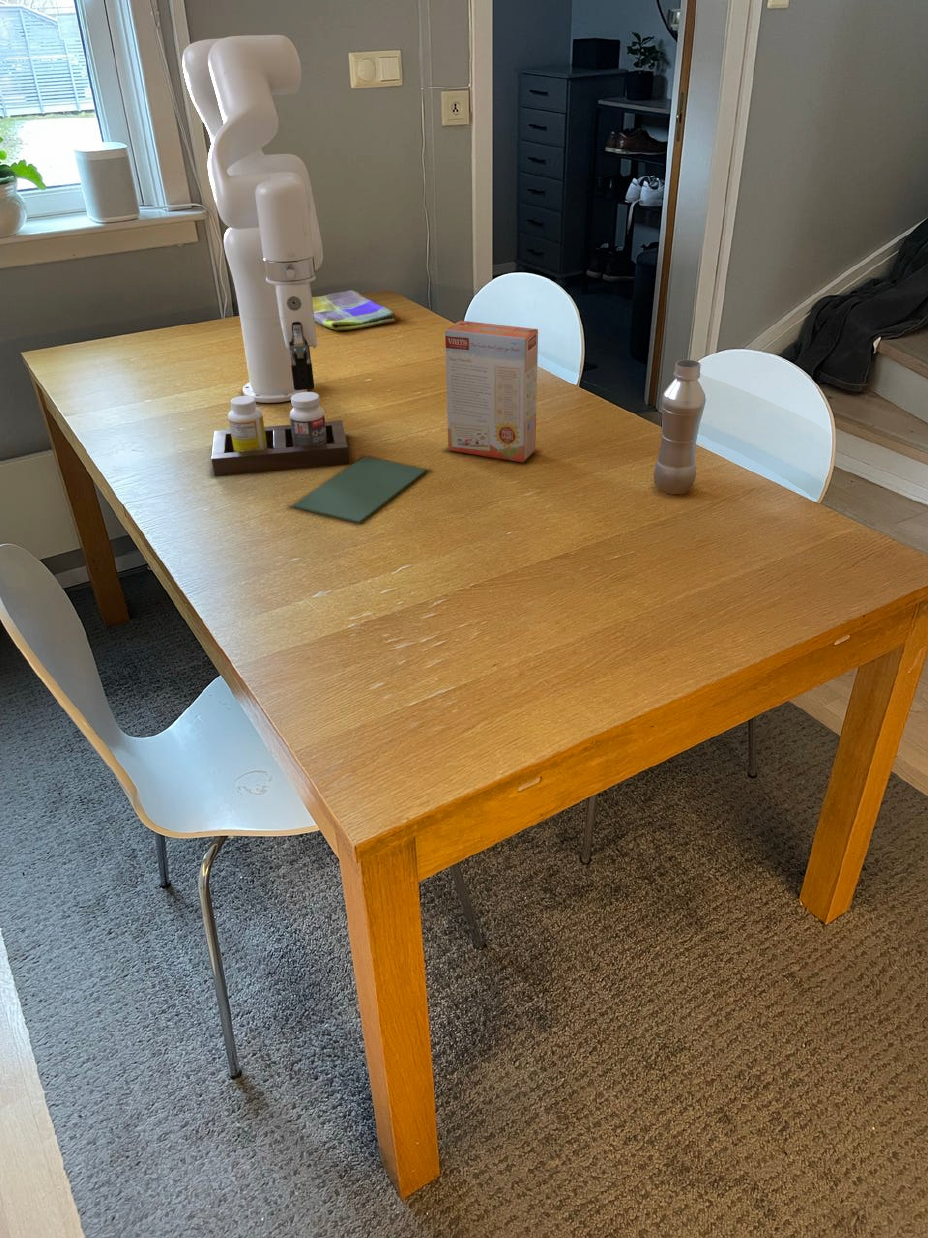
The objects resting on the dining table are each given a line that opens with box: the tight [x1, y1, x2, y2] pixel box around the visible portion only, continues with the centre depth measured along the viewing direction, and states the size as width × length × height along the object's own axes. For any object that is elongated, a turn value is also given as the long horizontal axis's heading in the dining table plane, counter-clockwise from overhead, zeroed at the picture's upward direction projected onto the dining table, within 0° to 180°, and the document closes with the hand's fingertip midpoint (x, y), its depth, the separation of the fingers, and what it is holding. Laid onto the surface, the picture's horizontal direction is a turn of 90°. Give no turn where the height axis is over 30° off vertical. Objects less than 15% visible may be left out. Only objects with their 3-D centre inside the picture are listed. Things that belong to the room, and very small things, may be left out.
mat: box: [293, 456, 427, 524], centre depth 146 cm, size 20×12×1 cm, turn 152°
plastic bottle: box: [653, 359, 707, 495], centre depth 139 cm, size 6×7×20 cm
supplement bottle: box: [227, 395, 268, 452], centre depth 154 cm, size 6×6×10 cm
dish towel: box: [312, 289, 396, 331], centre depth 225 cm, size 18×24×3 cm
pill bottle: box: [289, 391, 328, 447], centre depth 156 cm, size 6×6×10 cm
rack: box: [211, 419, 350, 477], centre depth 157 cm, size 12×22×3 cm, turn 100°
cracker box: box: [444, 320, 539, 463], centre depth 152 cm, size 14×6×21 cm, turn 65°
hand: (303, 379), depth 151 cm, fingers open, 9 cm apart
